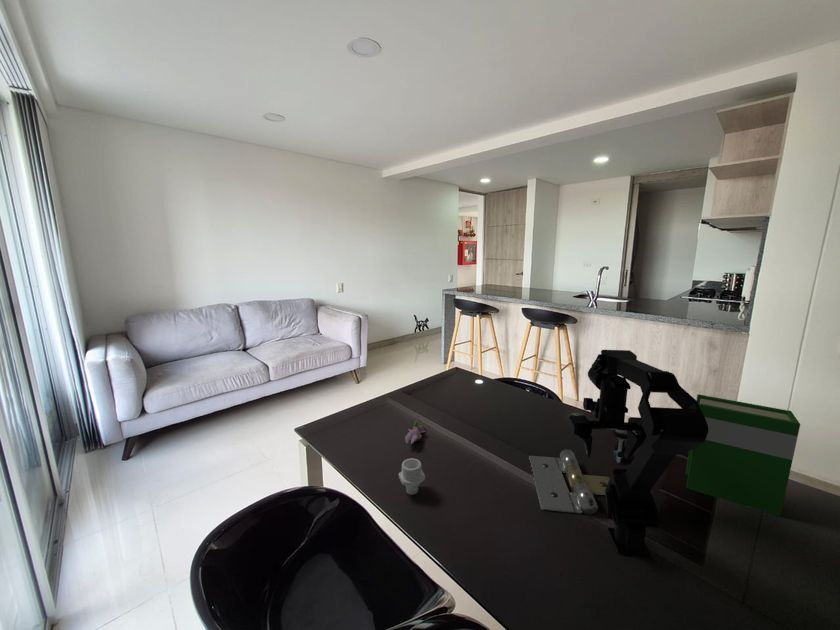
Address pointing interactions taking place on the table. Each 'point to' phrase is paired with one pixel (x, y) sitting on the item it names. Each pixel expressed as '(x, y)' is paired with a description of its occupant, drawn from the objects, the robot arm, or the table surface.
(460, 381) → the table surface
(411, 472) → the pipe fitting
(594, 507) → the steel hinge leaf
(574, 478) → the brass hinge leaf
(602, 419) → the robot arm
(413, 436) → the purple flower
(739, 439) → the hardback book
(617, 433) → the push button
